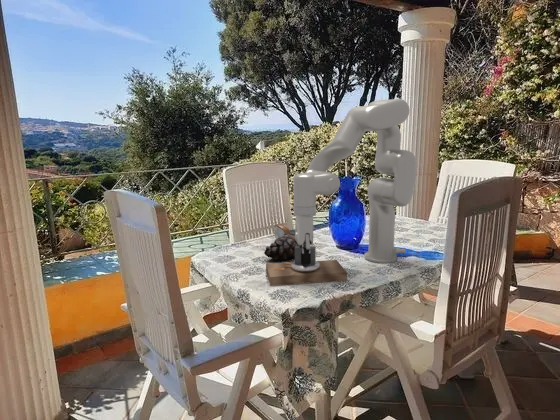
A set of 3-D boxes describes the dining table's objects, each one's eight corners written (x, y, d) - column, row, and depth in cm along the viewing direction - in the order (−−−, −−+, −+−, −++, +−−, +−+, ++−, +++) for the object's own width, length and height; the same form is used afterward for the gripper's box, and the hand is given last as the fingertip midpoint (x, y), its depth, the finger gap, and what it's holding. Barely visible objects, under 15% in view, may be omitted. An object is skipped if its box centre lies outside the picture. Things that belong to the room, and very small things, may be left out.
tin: (292, 248, 173) (292, 229, 172) (285, 249, 172) (285, 230, 170) (279, 239, 187) (279, 221, 185) (273, 240, 186) (273, 222, 184)
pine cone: (260, 261, 158) (260, 236, 156) (292, 250, 170) (291, 227, 168) (279, 267, 150) (279, 241, 148) (310, 256, 163) (311, 232, 161)
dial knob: (320, 262, 144) (320, 243, 143) (318, 272, 135) (319, 252, 133) (286, 261, 146) (286, 242, 145) (282, 271, 136) (282, 250, 135)
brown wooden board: (336, 267, 149) (336, 259, 148) (346, 280, 136) (347, 271, 136) (266, 271, 146) (265, 263, 145) (270, 285, 133) (270, 276, 132)
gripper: (290, 206, 144) (290, 255, 148) (297, 216, 128) (297, 271, 132) (311, 205, 145) (310, 254, 148) (321, 215, 129) (320, 270, 132)
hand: (304, 261), depth 140 cm, fingers closed on dial knob, 3 cm apart
